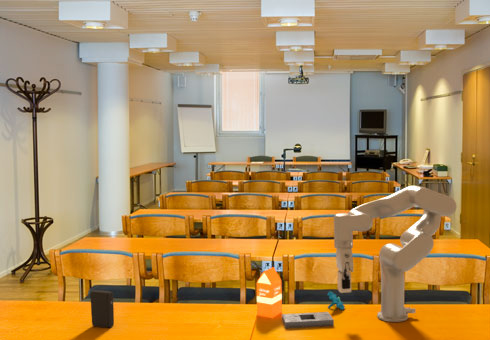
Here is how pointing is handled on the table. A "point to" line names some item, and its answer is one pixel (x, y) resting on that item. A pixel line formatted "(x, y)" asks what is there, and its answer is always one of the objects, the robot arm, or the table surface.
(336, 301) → the teal plastic figure
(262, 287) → the orange juice
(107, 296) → the card reader
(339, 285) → the square peg
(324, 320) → the grey peg hole board
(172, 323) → the table surface
